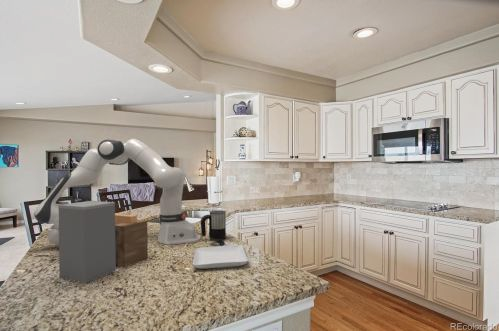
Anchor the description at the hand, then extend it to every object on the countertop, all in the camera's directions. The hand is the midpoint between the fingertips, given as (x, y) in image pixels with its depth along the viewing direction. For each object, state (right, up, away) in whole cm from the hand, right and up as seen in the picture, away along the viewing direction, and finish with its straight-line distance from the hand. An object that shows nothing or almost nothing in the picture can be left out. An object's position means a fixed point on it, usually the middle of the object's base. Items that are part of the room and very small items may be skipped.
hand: (88, 211), depth 123 cm
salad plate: (+62, -19, -12) cm, 65 cm away
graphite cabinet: (+14, -19, -24) cm, 34 cm away
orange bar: (+16, -3, -7) cm, 18 cm away
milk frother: (+57, -19, +17) cm, 63 cm away
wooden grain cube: (+21, -19, -9) cm, 29 cm away
